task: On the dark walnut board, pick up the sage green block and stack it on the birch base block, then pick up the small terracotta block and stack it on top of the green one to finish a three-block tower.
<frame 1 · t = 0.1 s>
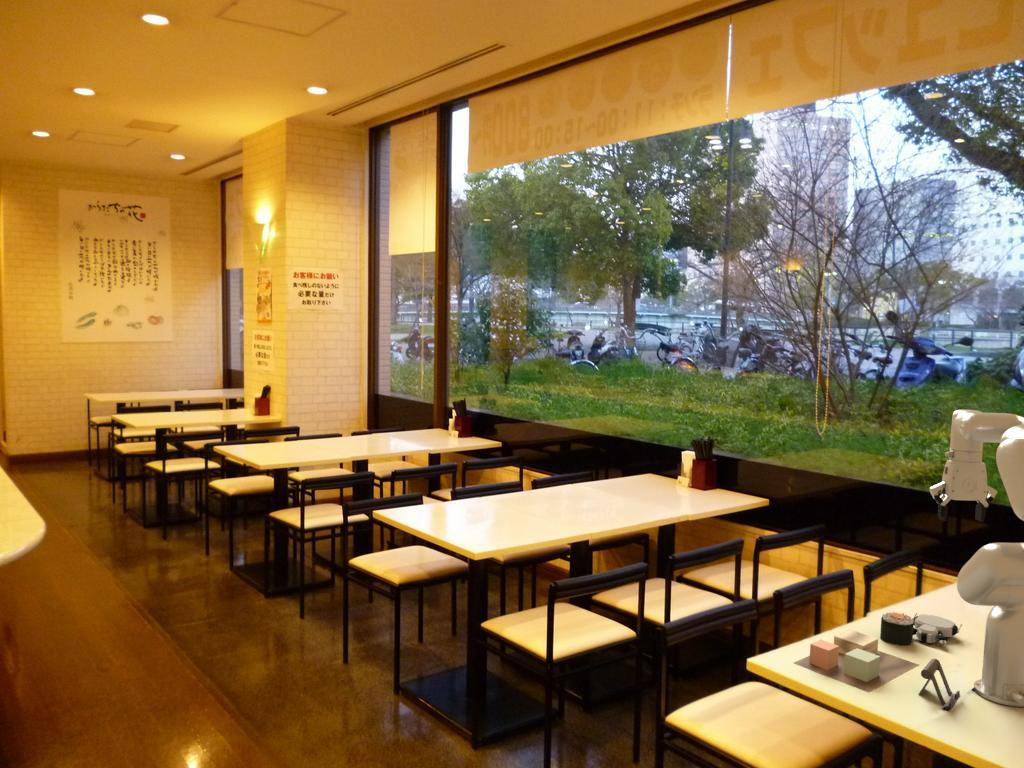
hand: (961, 520, 214), 37 cm above the table, tool pointing down, fingers open, 9 cm apart
walnut board: (856, 667, 207), on the table
sushi: (896, 644, 224), on the table
green block: (861, 674, 201), point 1 cm above the table, touching walnut board
portable electronic device stand: (936, 701, 190), on the table
birch base block: (855, 651, 215), point 1 cm above the table, touching walnut board
terracotta block: (823, 663, 207), point 1 cm above the table, touching walnut board
robot toy: (930, 638, 229), on the table
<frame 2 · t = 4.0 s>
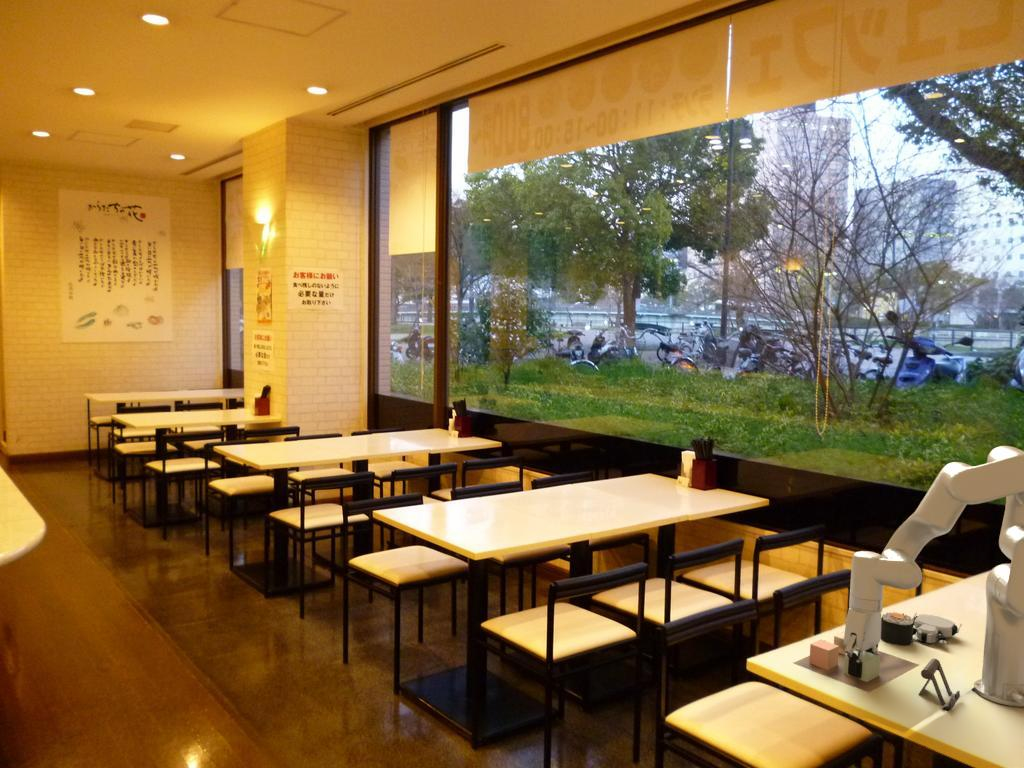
hand: (861, 672, 201), 2 cm above the table, tool pointing down, fingers closed on green block, 6 cm apart
green block: (861, 674, 201), point 1 cm above the table, touching gripper, walnut board
everything else where it was.
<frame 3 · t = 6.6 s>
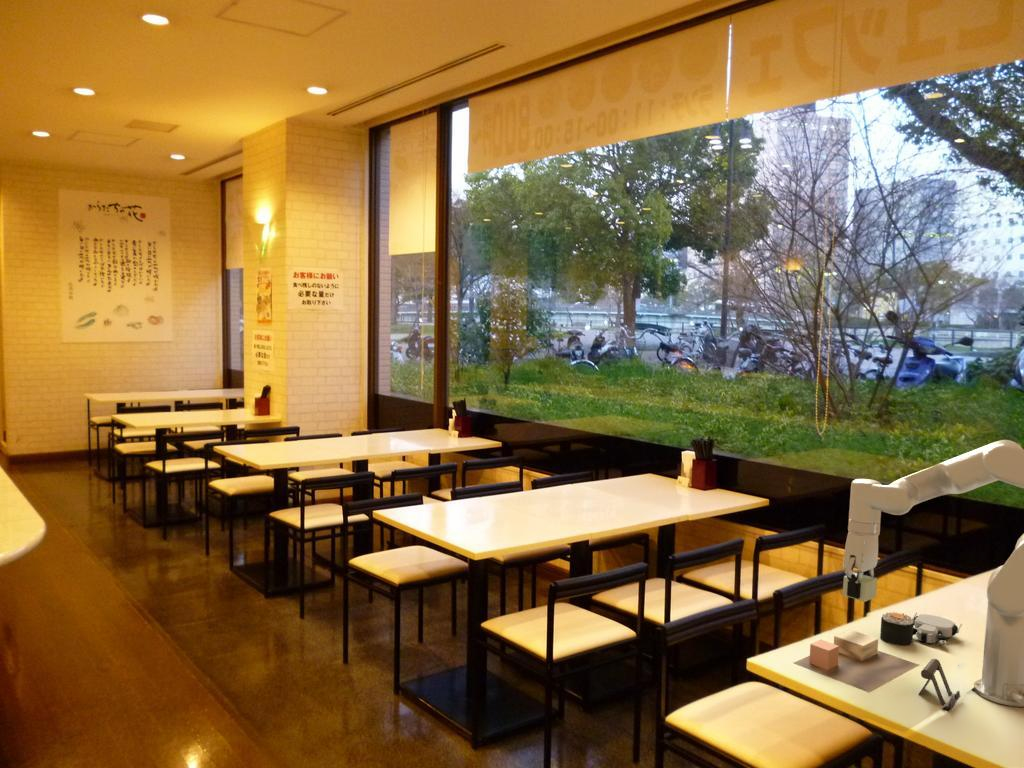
hand: (859, 593, 211), 18 cm above the table, tool pointing down, fingers closed on green block, 6 cm apart
green block: (859, 596, 211), point 17 cm above the table, touching gripper
everything else where it was.
when the fingers open (7 cm above the table, at t = 9.3 s): green block drops 1 cm, resting on birch base block.
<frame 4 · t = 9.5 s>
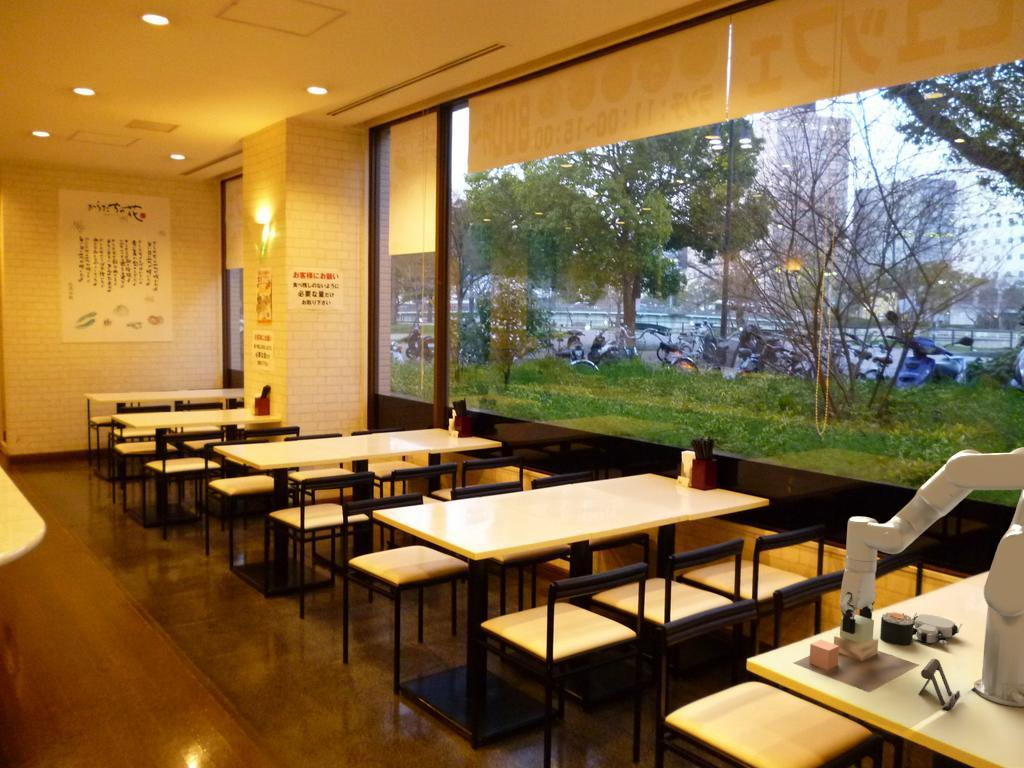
hand: (856, 628, 214), 7 cm above the table, tool pointing down, fingers open, 8 cm apart
green block: (856, 637, 214), point 5 cm above the table, touching birch base block
birch base block: (855, 651, 215), point 1 cm above the table, touching green block, walnut board
everything else where it was.
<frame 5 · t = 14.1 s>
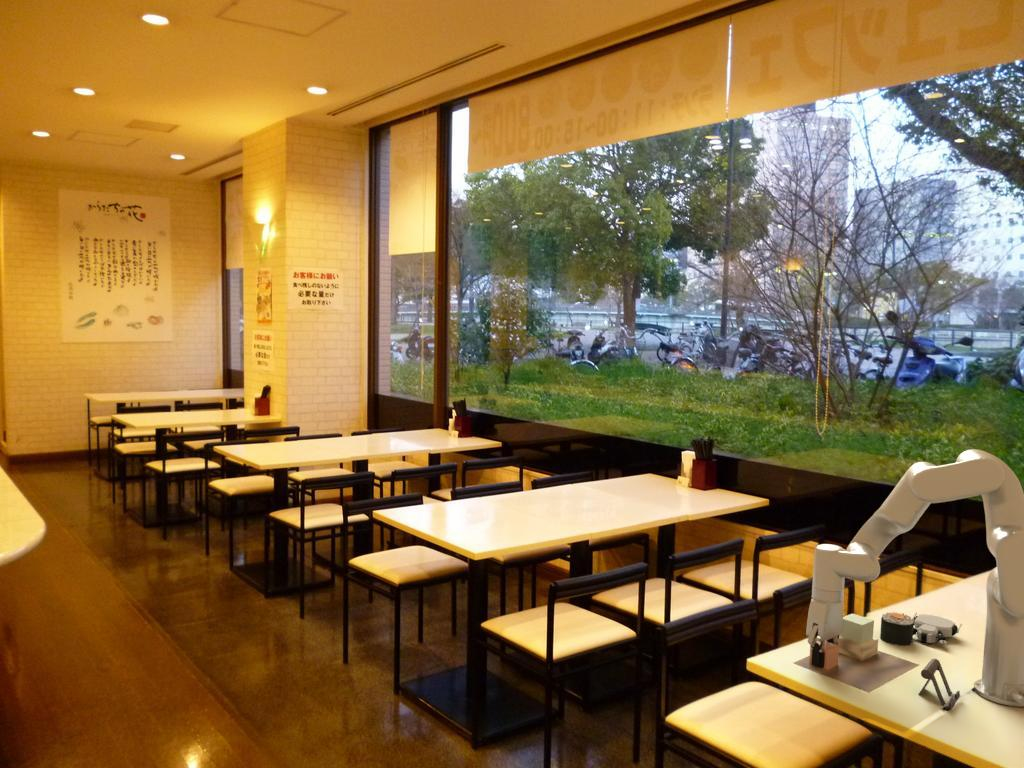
hand: (823, 662, 207), 1 cm above the table, tool pointing down, fingers closed on terracotta block, 4 cm apart
terracotta block: (823, 663, 207), point 1 cm above the table, touching gripper, walnut board
everything else where it was.
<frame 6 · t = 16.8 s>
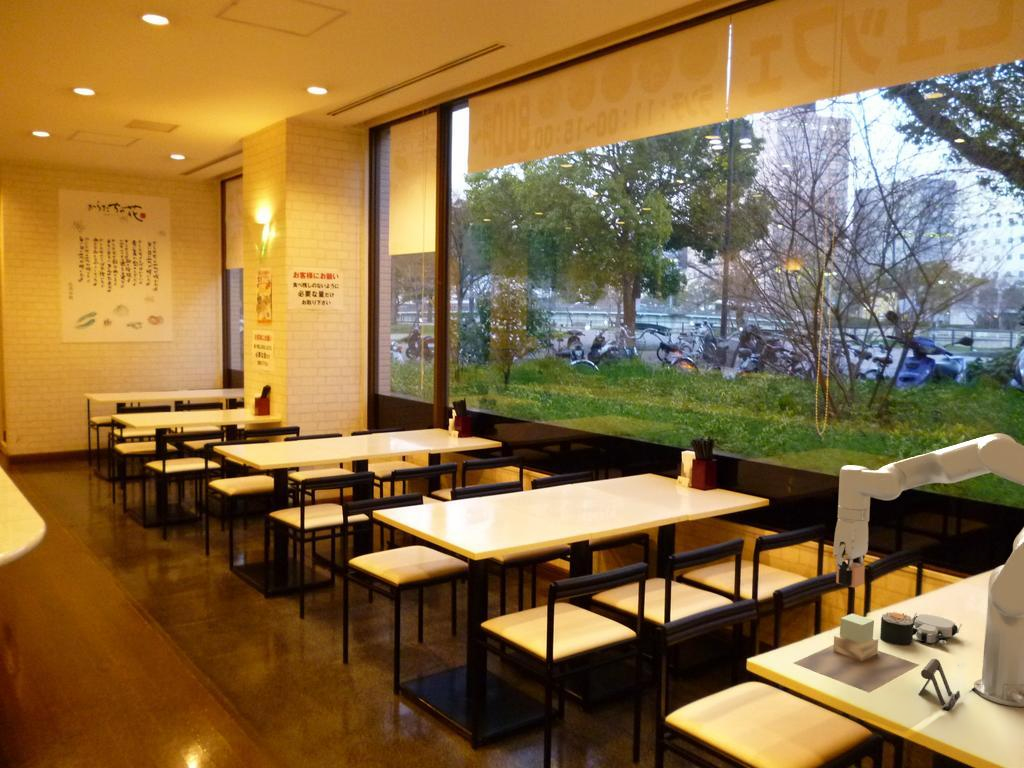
hand: (850, 581, 210), 21 cm above the table, tool pointing down, fingers closed on terracotta block, 4 cm apart
terracotta block: (849, 583, 210), point 21 cm above the table, touching gripper
everything else where it was.
when the fingers open (12 cm above the table, at t = 19.3 s): terracotta block drops 1 cm, resting on green block.
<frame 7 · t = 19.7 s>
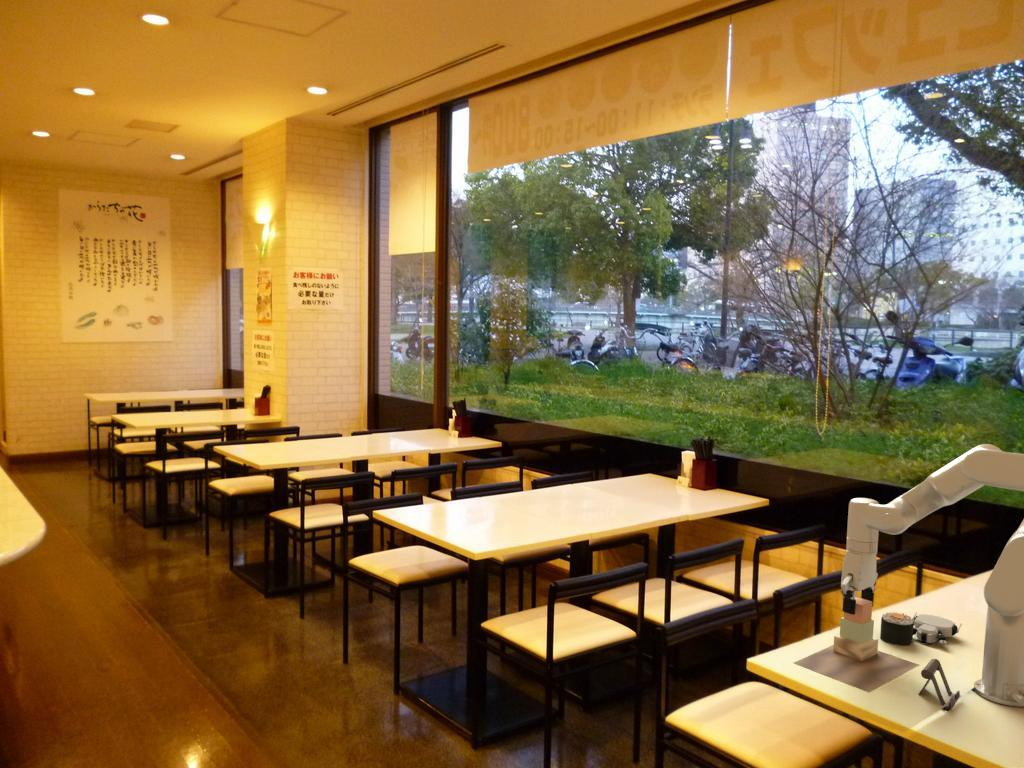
hand: (857, 609, 214), 13 cm above the table, tool pointing down, fingers open, 9 cm apart
green block: (856, 637, 214), point 5 cm above the table, touching birch base block, terracotta block
terracotta block: (857, 619, 214), point 10 cm above the table, touching green block
everything else where it was.
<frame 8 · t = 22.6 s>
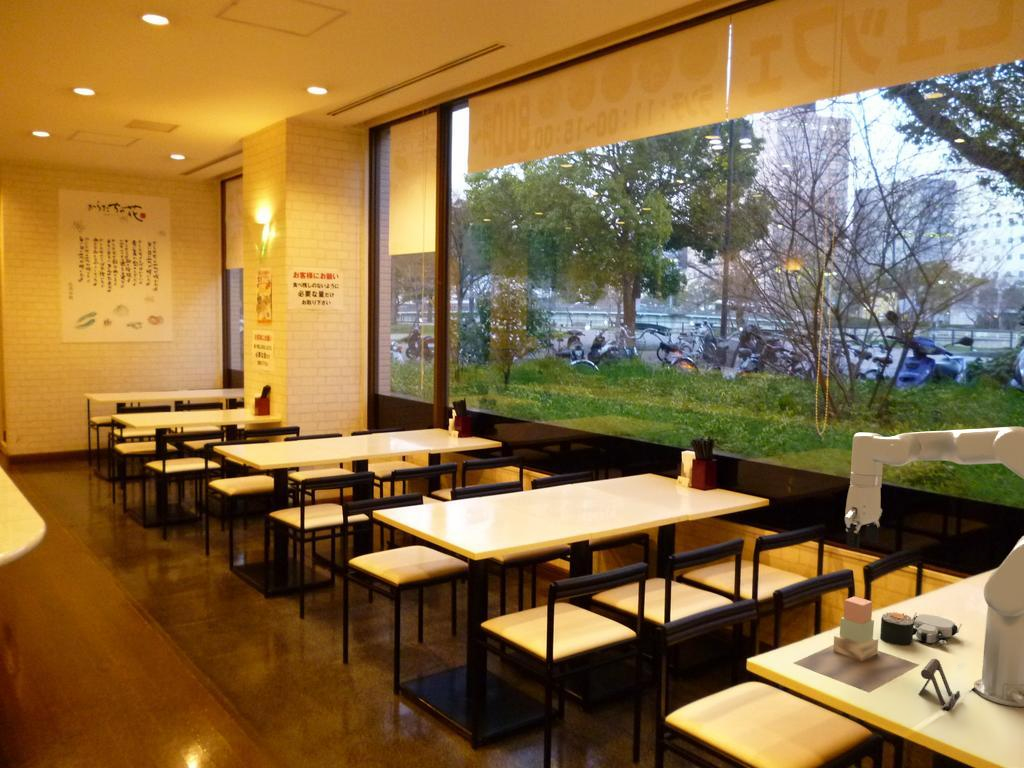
hand: (862, 544, 212), 30 cm above the table, tool pointing down, fingers open, 9 cm apart
nothing on the table moved.
at the end: green block 0.0 cm off-centre on the birch base block, point 4.0 cm above the birch base block's base; terracotta block 0.0 cm off-centre on the green block, point 5.0 cm above the green block's base; terracotta block tilted 0° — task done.
